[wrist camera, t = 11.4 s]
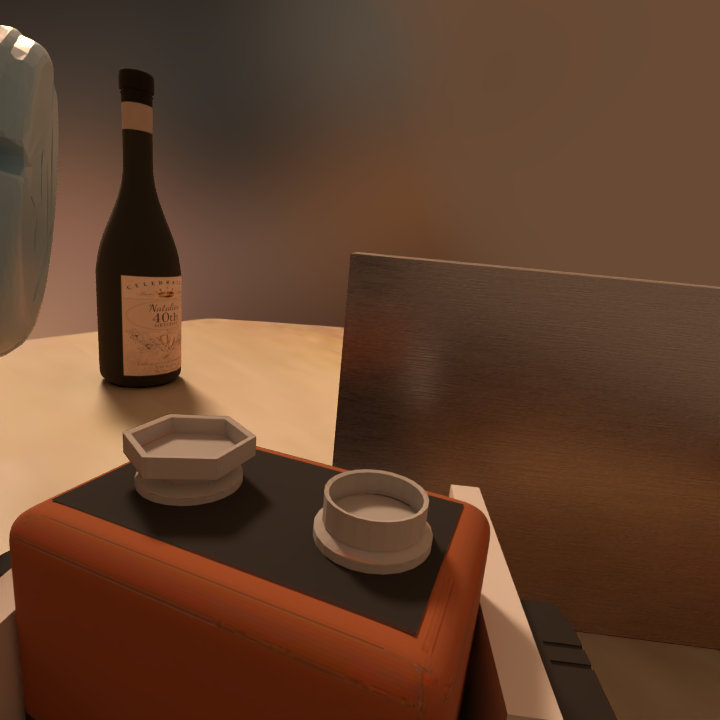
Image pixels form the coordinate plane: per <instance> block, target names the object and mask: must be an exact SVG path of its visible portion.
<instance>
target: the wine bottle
mask: <svg viewBox="0 0 720 720" xmlns="http://www.w3.org/2000/svg"><path fill="white" fill-rule="evenodd" d="M119 89H121V91H120V92H121V103H122V104H121V105H122V136H123V174H122V182H121V187H120V190H119V194H118V197H117V200H116V203H115V206H114V208H113V211H112V213H111V216H110V218H109V221H108V223H107V225H106V228H105V231H104V233H103V236H102V239H101V242H100V246H99V251H98V256H97V263H96V292H97V316H98V341H99V364H100V373H101V375H102V376H103V377H104V378H105V379H106V380H107V381H108V382H111V383H114V384H117V385H120V386H128V387H146V386H155V385H160V384H164V383H167V382H170V381H172V380H174V379H175V378H176V377H177V376H178V375H179V374H180V372H181V270H180V264H179V257H178V254H177V249H176V246H175V243H174V240H173V237H172V234H171V232H170V229H169V227H168V224H167V222H166V219H165V216H164V214H163V211H162V208H161V205H160V203H159V200H158V196H157V193H156V188H155V183H154V176H153V150H152V148H153V144H152V100H153V98H152V96H153V95H154V79H153V76H152V75H151V74H149V73H147V72H145V71H142V70H138V69H133V68H122V69H120V70H119Z"/></svg>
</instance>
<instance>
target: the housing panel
mask: <svg viewBox="0 0 720 720" xmlns="http://www.w3.org/2000/svg"><path fill="white" fill-rule="evenodd" d="M345 314H346V315H345V325H344V337H343V348H342V360H341V372H340V383H339V395H338V407H337V419H336V430H335V442H334V454H333V465H332V466H333V467H337V468H341V469H345V470H349V471H352V470H362V469H371V470H382V471H387V472H392V473H395V474H398V475H401V476H404V477H406V478H408V479H410V480H412V481H414V482H416V483H417V484H418V485H420V486H421V487H422V488H423V489H424V490H425V491H428V492H432V493H436V494H439V495H443V496H447V497H449V494H450V487H451V484H452V485H460V486H469V487H478V488H479V489H480V492H481V495H482V497H483V500H484V503H485V506H486V508H487V511H488V514H489V517H490V519H491V522H492V525H493V528H494V530H495V533H496V536H497V539H498V541H499V544H500V547H501V550H502V552H503V555H504V558H505V561H506V563H507V566H508V569H509V572H510V574H511V577H512V580H513V583H514V585H515V588H516V591H517V594H518V596H519V599H524V600H532V601H540V602H548V603H552V604H553V605H554V606H555V607H556V608H557V609H558V610H559V611H560V612H561V613H562V614H563V615H564V616H565V617H566V618H567V619H568V620H569V622H570V623H571V624H572V626H573V628H574V630H575V631H582V632H589V633H597V634H605V635H613V636H620V637H628V638H636V639H644V640H652V641H659V642H667V643H675V644H683V645H690V646H698V647H706V648H714V649H720V287H716V286H706V285H696V284H685V283H675V282H664V281H653V280H643V279H632V278H623V277H612V276H602V275H591V274H581V273H570V272H560V271H549V270H539V269H529V268H518V267H507V266H497V265H487V264H475V263H466V262H456V261H445V260H434V259H423V258H414V257H403V256H393V255H382V254H372V253H362V252H356V253H351V255H350V267H349V278H348V290H347V302H346V313H345Z"/></svg>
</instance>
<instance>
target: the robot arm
mask: <svg viewBox="0 0 720 720" xmlns="http://www.w3.org/2000/svg"><path fill="white" fill-rule="evenodd" d="M53 75H54V70H53V65H52V61H51V59H50V57H49V55H48V53H47V51H46V50H45V49H44V48H43V47H42V46H41V45H40V44H38V43H37V42H35V41H33V40H31V39H29V38H27V37H24V36H22V34H21V33H20V32H19V31H18V30H16V29H14V28H12V27H8V26H2V25H0V357H2V356H4V355H7V354H8V353H10V352H11V351H13V350H14V349H16V348H17V347H19V346H20V345H22V344H23V343H24V342H25V340H26V339H27V338H28V337H29V335H30V334H31V332H32V330H33V328H34V326H35V324H36V322H37V319H38V316H39V313H40V309H41V306H42V302H43V298H44V293H45V288H46V282H47V276H48V269H49V262H50V254H51V247H52V239H53V227H54V217H55V205H56V188H57V172H58V169H57V168H58V106H57V95H56V91H55V87H54V78H53ZM449 497H451V498H454V499H457V500H461V501H464V502H467V503H469V504H471V505H473V506H475V507H477V508H478V509H479V510H481V511H482V512H483V513H484V515H485V516H486V518H487V520H488V522H489V525H490V542H489V549H488V555H487V561H486V567H485V573H484V579H483V585H482V591H481V597H480V603H479V608H478V614H477V620H476V626H475V632H474V638H473V644H472V650H471V656H470V662H469V668H468V674H467V680H466V686H465V692H464V698H463V704H462V710H461V716H460V720H617V718H616V716H615V714H614V712H613V710H612V708H611V706H610V703H609V701H608V699H607V697H606V695H605V693H604V691H603V689H602V687H601V685H600V683H599V680H598V678H597V676H596V674H595V672H594V670H592V669H591V664H590V662H589V660H588V657H587V655H586V653H585V651H584V650H582V645H581V643H580V641H579V639H578V637H577V634H576V632H575V630H574V628H573V626H572V624H571V623H570V622H569V620H568V619H567V618H566V617H565V616H564V615H563V614H562V613H561V612H560V611H559V610H558V609H557V608H556V607H555V606H554V605H553V604H552V603H548V602H540V601H532V600H524V599H519V596H518V594H517V591H516V588H515V585H514V583H513V580H512V577H511V574H510V572H509V569H508V566H507V563H506V561H505V558H504V555H503V552H502V550H501V547H500V544H499V541H498V539H497V536H496V533H495V530H494V528H493V525H492V522H491V519H490V517H489V514H488V511H487V508H486V506H485V503H484V500H483V497H482V495H481V492H480V489H479V488H478V487H469V486H460V485H452V484H451V487H450V494H449ZM0 720H26V717H25V707H24V696H23V685H22V675H21V664H20V653H19V642H18V632H17V621H16V610H15V600H14V589H13V578H12V567H11V557H10V551H8V552H6V553H4V554H2V555H0Z"/></svg>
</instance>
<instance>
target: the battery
mask: <svg viewBox="0 0 720 720" xmlns="http://www.w3.org/2000/svg"><path fill="white" fill-rule="evenodd" d="M123 452H124V453H125V455H126V456H127V458H128V459H129V460H130V462H128V463H125V464H123V465H121V466H119V467H117V468H115V469H113V470H110V471H108V472H106V473H104V474H102V475H100V476H98V477H95V478H93V479H91V480H89V481H87V482H85V483H82V484H80V485H78V486H76V487H74V488H72V489H70V490H67V491H65V492H63V493H61V494H59V495H57V496H55V497H52V498H50V499H48V500H46V501H44V502H42V503H40V504H38V505H36V506H34V507H32V508H30V509H28V510H27V511H25V512H24V513H22V514H21V515H20V516H19V517H18V518H17V519H16V520H15V522H14V523H13V525H12V527H11V531H10V538H9V543H10V557H11V567H12V578H13V589H14V600H15V610H16V621H17V632H18V642H19V653H20V664H21V675H22V685H23V696H24V707H25V717H26V720H460V716H461V710H462V704H463V698H464V692H465V686H466V680H467V674H468V668H469V662H470V656H471V650H472V644H473V638H474V632H475V626H476V620H477V614H478V608H479V603H480V597H481V591H482V585H483V579H484V573H485V567H486V561H487V555H488V549H489V542H490V525H489V522H488V520H487V518H486V516H485V515H484V513H483V512H482V511H481V510H479V509H478V508H477V507H475V506H473V505H471V504H469V503H467V502H464V501H461V500H457V499H454V498H451V497H447V496H443V495H439V494H436V493H432V492H428V491H425V490H424V489H423V488H422V487H421V486H420V485H418V484H417V483H416V482H414V481H412V480H410V479H408V478H406V477H404V476H401V475H398V474H395V473H392V472H387V471H382V470H371V469H362V470H352V471H349V470H345V469H341V468H337V467H333V466H329V465H326V464H322V463H318V462H314V461H310V460H307V459H303V458H299V457H295V456H291V455H288V454H284V453H280V452H276V451H272V450H269V449H265V448H261V447H257V446H256V436H255V435H254V434H252V433H251V432H250V431H248V430H247V429H246V428H244V427H243V426H242V425H240V424H239V423H238V422H236V421H235V420H234V419H232V418H231V417H229V416H207V415H179V414H168V415H166V416H163V417H161V418H158V419H156V420H153V421H150V422H148V423H145V424H143V425H140V426H138V427H135V428H132V429H130V430H127V431H125V432H123Z"/></svg>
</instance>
